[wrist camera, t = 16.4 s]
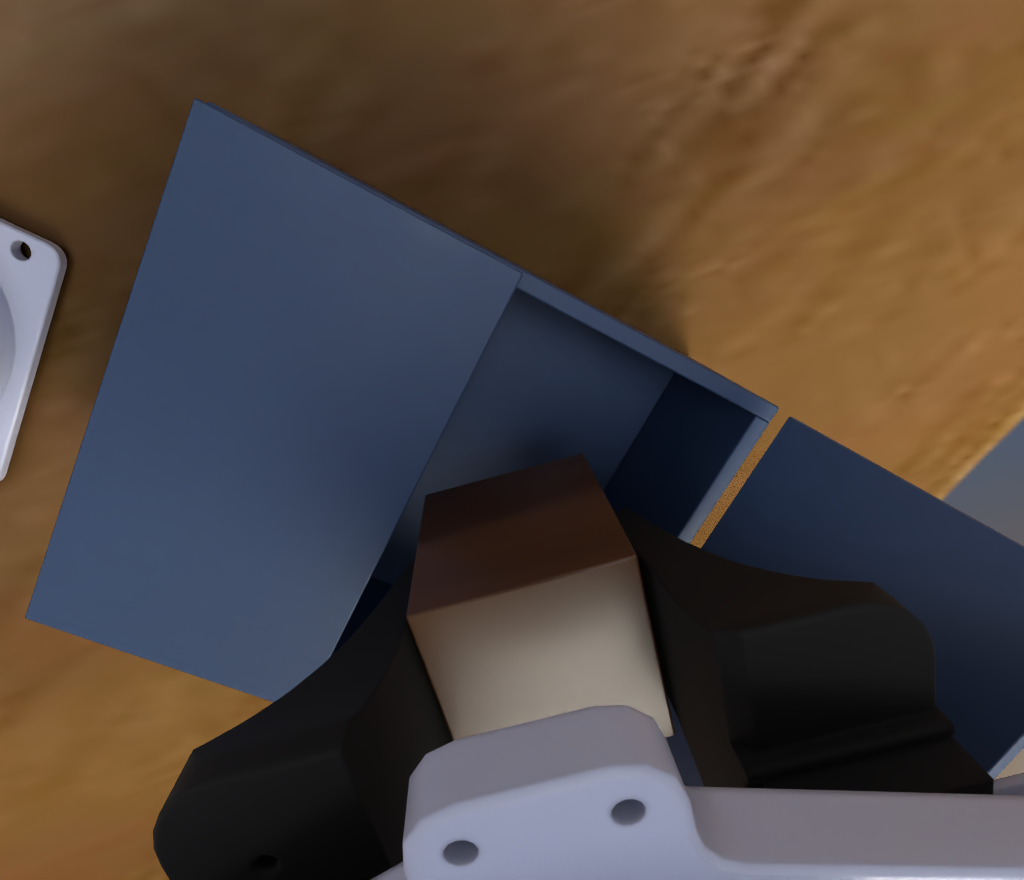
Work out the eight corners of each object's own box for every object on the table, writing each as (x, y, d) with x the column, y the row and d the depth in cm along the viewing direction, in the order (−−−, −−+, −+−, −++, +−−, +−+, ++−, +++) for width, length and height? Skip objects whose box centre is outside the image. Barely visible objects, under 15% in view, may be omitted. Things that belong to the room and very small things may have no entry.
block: (424, 494, 15) (404, 616, 10) (583, 451, 15) (637, 555, 10) (469, 626, 16) (470, 789, 11) (615, 588, 16) (676, 736, 11)
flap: (789, 415, 13) (797, 420, 13) (538, 791, 16) (547, 791, 16) (1138, 611, 8) (1149, 615, 8) (658, 1129, 11) (670, 1125, 11)
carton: (690, 357, 19) (795, 416, 13) (521, 639, 23) (541, 794, 16) (293, 144, 17) (189, 91, 10) (160, 497, 20) (19, 619, 14)
